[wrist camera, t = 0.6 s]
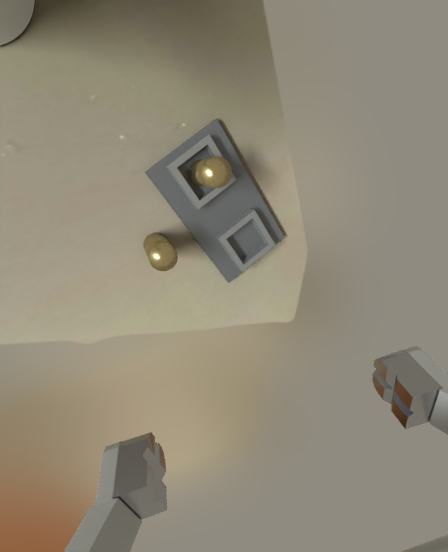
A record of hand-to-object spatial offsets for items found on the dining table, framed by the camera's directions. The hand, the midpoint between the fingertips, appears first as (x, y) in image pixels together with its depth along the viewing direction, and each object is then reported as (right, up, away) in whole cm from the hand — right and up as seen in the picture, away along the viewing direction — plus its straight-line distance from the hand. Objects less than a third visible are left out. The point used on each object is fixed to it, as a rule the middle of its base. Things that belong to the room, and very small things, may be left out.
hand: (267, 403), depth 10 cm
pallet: (-2, +17, +41) cm, 45 cm away
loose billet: (-13, +10, +39) cm, 43 cm away
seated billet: (-5, +21, +37) cm, 43 cm away
